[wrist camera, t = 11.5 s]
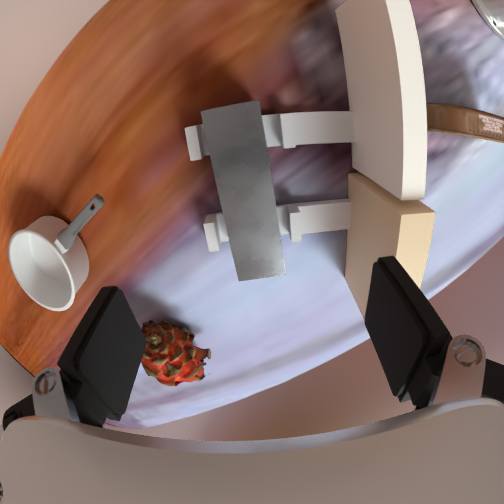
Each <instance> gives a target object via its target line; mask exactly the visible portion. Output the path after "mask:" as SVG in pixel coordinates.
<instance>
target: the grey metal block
mask: <svg viewBox="0 0 504 504" xmlns="http://www.w3.org/2000/svg"><path fill="white" fill-rule="evenodd" d="M200 112H201V117H202V121H203V126H204V131H205V136H206V140H207V145H208V150H209V154H210V159H211V163H212V168H213V172H214V177H215V181H216V186H217V190H218V195H219V199H220V203H221V208H222V212H223V216H224V221H225V225H226V229H227V234H228V238H229V242H230V246H231V251H232V255H233V259H234V263H235V267H236V271H237V275H238V279H239V281H245V280H252V279H259V278H265V277H272V276H279V275H285V274H286V273H285V265H284V258H283V250H282V243H281V235H280V228H279V221H278V214H277V207H276V201H275V194H274V187H273V181H272V174H271V168H270V162H269V156H268V150H267V144H266V138H265V132H264V126H263V120H262V115H261V109H260V104H259V100H257V101H250V102H244V103H238V104H233V105H228V106H223V107H218V108H213V109H209V110H204V111H200Z"/></svg>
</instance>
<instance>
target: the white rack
mask: <svg viewBox="0 0 504 504" xmlns="http://www.w3.org/2000/svg"><path fill="white" fill-rule="evenodd" d="M335 12H336V17H337V22H338V27H339V33H340V38H341V44H342V51H343V57H344V64H345V72H346V80H347V89H348V99H349V110H350V111H320V112H297V113H283V114H271V115H262V120H263V126H264V132H265V138H266V144H267V147H273V146H282V147H283V148H295V147H296V146H295V145H303V144H319V143H344V142H352V167H353V168H354V169H356V170H357V171H359V172H361V173H348V199H337V200H325V201H314V202H303V203H293V204H284V205H276V207H277V214H278V221H279V228H280V235H283V234H289V235H290V238H291V242H300V241H302V234H308V233H317V232H326V231H336V230H345V229H348V230H347V252H346V268H345V280H346V282H347V284H348V286H349V288H350V290H351V292H352V294H353V297H354V299H355V301H356V303H357V305H358V307H359V309H360V312H361V314H362V316H363V318H364V320H365V312H366V307H367V301H368V295H369V288H370V282H371V275H372V267H373V263H374V262H377V259H378V258H379V257H385V256H394V257H395V258H396V259H397V260H398V261H399V263H400V264H401V265H402V266H403V268H404V269H405V270H406V272H407V273H408V274H409V275H410V277H411V278H412V279H413V281H414V282H415V283H416V285H417V286H418V287H419V289H420V286H421V283H422V279H423V275H424V271H425V266H426V262H427V257H428V253H429V248H430V243H431V237H432V232H433V226H434V219H435V211H433V210H432V209H430V208H429V207H428V206H426V205H425V204H423V203H422V202H420V201H419V200H420V199H424V192H425V180H426V162H427V112H426V95H425V84H424V74H423V66H422V59H421V52H420V46H419V41H418V36H417V31H416V26H415V21H414V17H413V13H412V9H411V5H410V2H409V0H345V1H344V2H343V3H342V4H341V5H340V6H339V7H338V8H337V9H336V10H335ZM185 133H186V139H187V145H188V150H189V155H190V161H195V160H200V159H202V158H203V157H204V156H206V155H210V154H209V150H208V145H207V140H206V136H205V131H204V126H203V124H200V125H195V126H190V127H186V128H185ZM203 225H204V229H205V234H206V238H207V243H208V247H209V252H213V251H220V246H221V242H223V241H229V238H228V234H227V229H226V225H225V221H224V216H223V212H218V213H211V214H207V215H206V218H205V221H204V223H203Z"/></svg>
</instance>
